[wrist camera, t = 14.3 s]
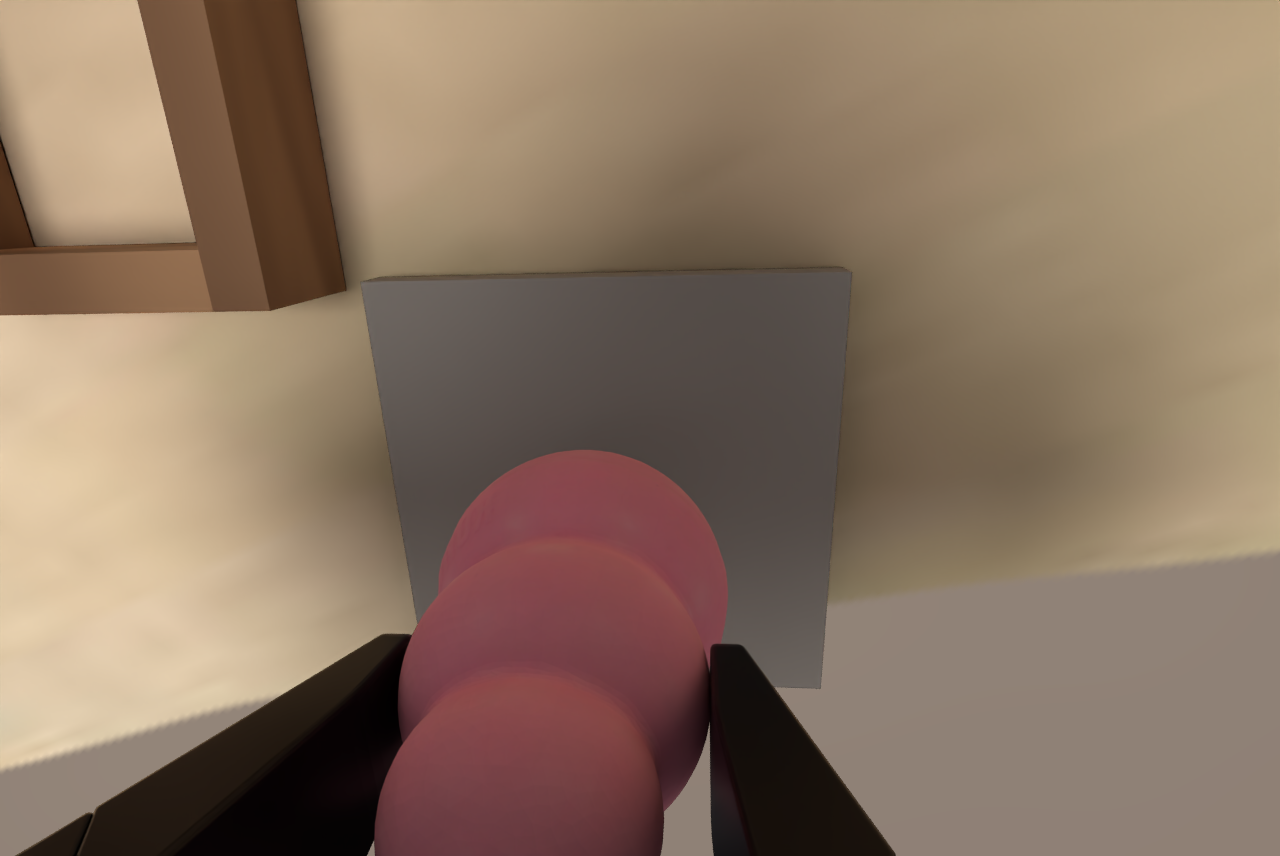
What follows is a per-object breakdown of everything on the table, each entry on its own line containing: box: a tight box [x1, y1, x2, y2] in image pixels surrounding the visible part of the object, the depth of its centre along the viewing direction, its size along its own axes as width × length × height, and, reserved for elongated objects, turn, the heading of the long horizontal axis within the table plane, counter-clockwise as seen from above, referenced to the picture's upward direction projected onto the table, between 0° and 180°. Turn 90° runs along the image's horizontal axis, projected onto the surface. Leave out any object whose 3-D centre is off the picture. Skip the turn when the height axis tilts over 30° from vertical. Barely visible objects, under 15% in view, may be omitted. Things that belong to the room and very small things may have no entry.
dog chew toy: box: [374, 450, 728, 856], centre depth 9 cm, size 4×4×7 cm
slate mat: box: [361, 267, 852, 689], centre depth 14 cm, size 9×9×1 cm
